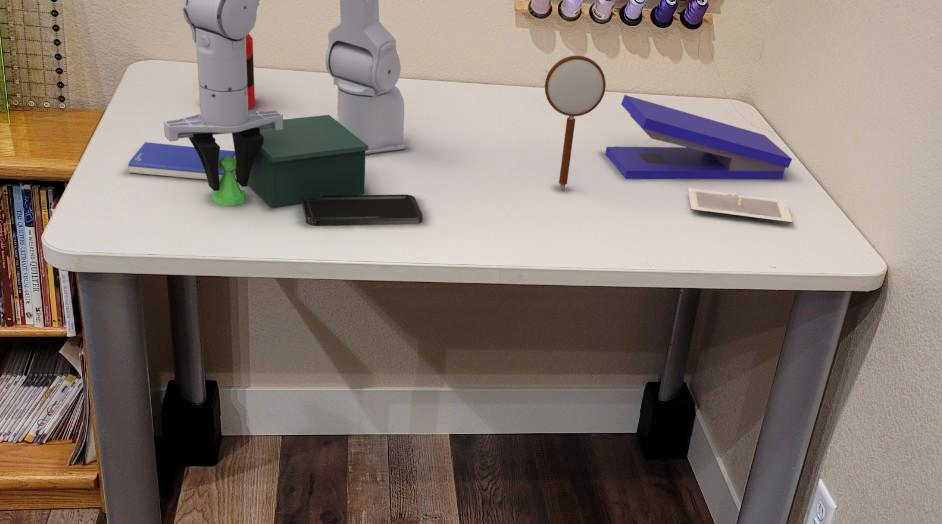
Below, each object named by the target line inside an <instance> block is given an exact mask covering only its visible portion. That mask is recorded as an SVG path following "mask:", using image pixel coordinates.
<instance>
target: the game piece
mask: <svg viewBox="0 0 942 524" xmlns="http://www.w3.org/2000/svg"><path fill="white" fill-rule="evenodd" d="M219 168H220V169H222V170H224V171H223V174H222V177H221V179H220V188H219V190H218V191H213V190H212V194H211V199H212V202H214V203H216V204H218V205H220V206H237V205H239V204H242V203H244V202H245V199H246V190H243V189H241V186H240V184H239V183H238V182H237V180H236V175H235V174H234V172H233V171H235V169H236V159H234V158H231V157H229V156H225V157H222V158H220V159H219Z"/></svg>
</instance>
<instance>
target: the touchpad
mask: <svg viewBox="0 0 942 524" xmlns="http://www.w3.org/2000/svg"><path fill="white" fill-rule="evenodd" d="M687 191H688V198H689V204H690V210H696V211H704V212H711V213H719V214H726V215H735V216H740V217H741V216H742V217H748V218H749V217H750V218H757V219H765V220H773V221H780V222H789V223H793V219H792V216H791V213H790V210H789V207H788V204H787V202H786V200H784V199H783V200H781V199H775V198H766V197H759V196H753V195H743V194H737V193H729V192H721V191H714V190H707V189H706V190H705V189H699V188H691V187H687Z"/></svg>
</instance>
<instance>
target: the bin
mask: <svg viewBox="0 0 942 524" xmlns="http://www.w3.org/2000/svg"><path fill="white" fill-rule="evenodd" d="M365 185H366V154H365V151H359V152H352V153H344V154H336V155H328V156H320V157H312V158H305V159H297V160H289V161H281V162H273V163H272V162H271V161H270V160H269V159H268V158H267V157H266V156H265V155H264V154H263V153H261V152H260V151H258V153H257V155H256V157H255V159H254V162H253V165H252V168H251V171H250V175H249V179H248V184H247V187H249V188H250V189H251V190H252V191H253V192H254V193H255V194H256V195H257V196H258V197H259V198H260V199H261V200H262V201H263V202H264V203H265V204H266V205H267V206H268V207H269V208H270V209H276V208H282V207H283V208H284V207H289V206H295V205H303V200H302V199H305V200H306V199H313V198H319V197H322V196H324V195H365V187H366V186H365Z"/></svg>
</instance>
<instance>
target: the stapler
mask: <svg viewBox="0 0 942 524" xmlns="http://www.w3.org/2000/svg"><path fill="white" fill-rule="evenodd" d="M620 105H621V106H622V107H623V108H624V110H625V111H627V113H628V114H629V116H630V118H631V119H633V121H635V123H636V124H637V125H638V126H639V127H640V128H641V130H643V131H644V133H645V134H646V135H647V136H648V137H649V138H650V139H651V140H655V141H660V142H664V143H668V144H672V145H676V146H606V147H605V156H606V157H607V158H608V159H609V160H610V162H611V163H612V164H613V165H614V166H615V168H616V169H617V170H618V171H619V173H621V175H622V176H623V178H624V179H626V180H628V179H629V180H631V179H633V180H635V179H636V180H637V179H639V180H643V179H645V180H646V179H648V180H650V179H651V180H653V179H654V180H655V179H660V180H661V179H663V180H664V179H671V180H673V179H675V180H677V179H679V180H680V179H681V180H683V179H687V180H688V179H690V180H691V179H692V180H693V179H698V180H699V179H783V178H784V174H785V170H786V169H789V167H790V165H791V163H792V161H793V158H792V157H791V156H789V155H788V154H787V153H786V152H785V151H784V150H782V149H781V147H779V146H778V145H777V144H776V143H775V142H774V141H772V140H771V139H770V138H769V137H767V136H766V135H765V134H763V133H759V132H756V131H753V130H752V131H751V130H749V129H746V128H741V127H738V126H734V125H732V124H727V123H724V122H720V121H717V120H713V119H710V118H707V117H704V116H700V115H697V114H692V113H689V112H685V111H684V110H683V111H682V110H679V109H675V108H672V107H668V106H665V105H662V104H658V103H654V102H651V101H648V100H644V99H641V98H637V97H634V96H630V95H627V94H624V96H623V98H622V101H621V103H620Z"/></svg>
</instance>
